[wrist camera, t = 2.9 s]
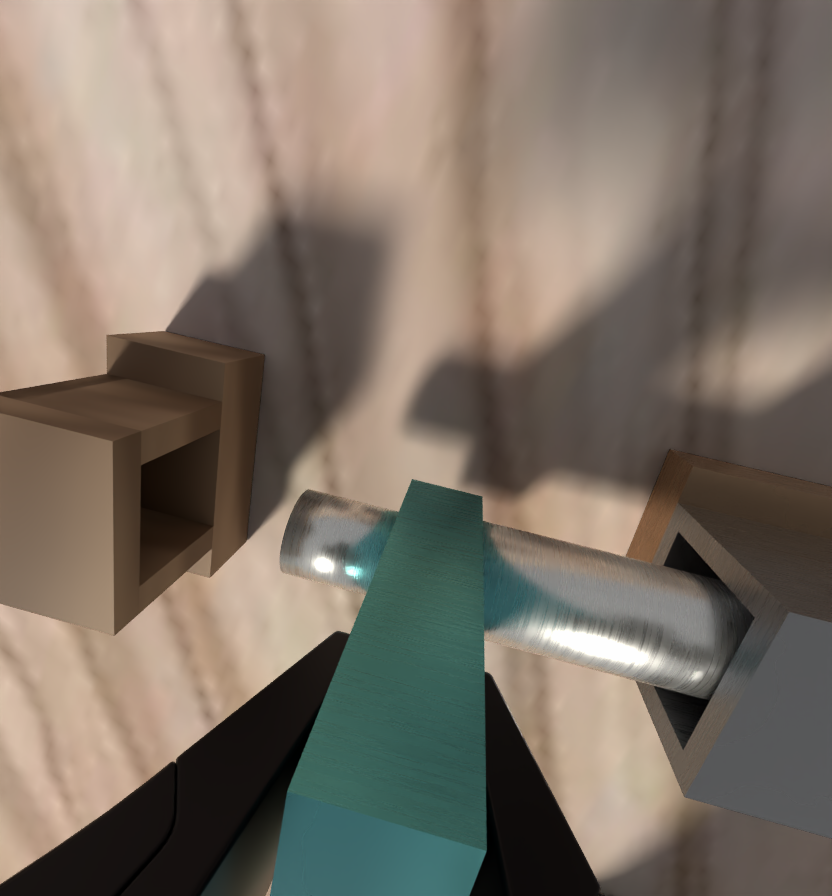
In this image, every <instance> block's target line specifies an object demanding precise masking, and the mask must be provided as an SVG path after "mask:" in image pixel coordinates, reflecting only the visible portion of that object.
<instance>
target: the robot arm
mask: <svg viewBox="0 0 832 896" xmlns="http://www.w3.org/2000/svg"><path fill="white" fill-rule="evenodd" d="M349 636H350V634H348V633H344V632H341V631H336V632H334V633H333V634H332V635H330V636H329V637H328V638H327V639H325V640H324V641H323V642H322V643H320V644H319V645H318V646H317V647H315V648H314V649H313V650H312V651H310V652H309V653H308V654H307V655H305V656H304V657H303V658H302V659H300V660H299V661H298V662H297V663H295V664H294V665H293V666H291V667H290V668H289V669H288V670H286V671H285V672H284V673H283V674H281V675H280V676H279V677H278V678H276V679H275V680H274V681H273V682H271V683H270V684H269V685H268V686H266V687H265V688H264V689H263V690H261V691H260V692H259V693H258V694H256V695H255V696H254V697H253V698H251V699H250V700H249V701H248V702H246V703H245V704H244V705H243V706H241V707H240V708H239V709H238V710H236V711H235V712H234V713H232V714H231V715H230V716H229V717H227V718H226V719H225V720H224V721H222V722H221V723H220V724H219V725H217V726H216V727H215V728H214V729H212V730H211V731H210V732H209V733H207V734H206V735H205V736H204V737H202V738H201V739H200V740H199V741H197V742H196V743H195V744H194V745H192V746H191V747H190V748H189V749H187V750H186V751H185V752H184V753H182V754H181V755H180V756H179V757H177V759H176V763H175V762H171V763H169V764H168V765H167V766H166V767H164V768H163V769H162V770H161V771H159V772H158V773H157V774H156V775H154V776H153V777H152V778H151V779H149V780H148V781H147V782H146V783H144V784H143V785H142V786H140V787H139V788H138V789H136V790H135V791H134V792H132V793H131V794H130V795H128V796H127V797H126V798H124V799H123V800H122V801H121V802H119V803H118V804H117V805H115V806H114V807H113V808H111V809H110V810H109V811H107V812H106V813H104V814H103V815H102V816H100V817H99V818H97V819H96V820H94V821H93V822H91V823H90V824H89V825H87V826H86V827H84V828H83V829H81V830H80V831H78V832H77V833H76V834H74V835H73V836H71V837H70V838H68V839H67V840H66V841H64V842H63V843H61V844H60V845H58V846H57V847H55V848H54V849H52V850H51V851H49V852H48V853H46V854H45V855H43V856H42V857H40V858H39V859H37V860H36V861H34V862H33V863H31V864H30V865H28V866H27V867H25V868H24V869H22V870H21V871H19V872H18V873H16V874H15V875H13V876H12V877H10V878H9V879H7V880H6V881H4V882H3V883H1V884H0V896H265V895H266V893H267V891H268V889H269V886H270V884H271V882H272V880H273V875H274V868H275V862H276V856H277V850H278V844H279V838H280V832H281V826H282V820H283V814H284V808H285V802H286V796H287V791H288V788H289V786H290V783H291V781H292V778H293V776H294V773H295V771H296V768H297V766H298V763H299V761H300V758H301V756H302V753H303V751H304V748H305V746H306V743H307V741H308V738H309V736H310V733H311V731H312V728H313V726H314V723H315V721H316V718H317V716H318V713H319V711H320V708H321V706H322V703H323V701H324V698H325V696H326V693H327V691H328V688H329V686H330V683H331V681H332V678H333V676H334V673H335V671H336V668H337V666H338V663H339V661H340V658H341V656H342V653H343V651H344V648H345V646H346V643H347V641H348V638H349ZM485 754H486V837H487V851H486V854H485V857H484V859H483V862H482V864H481V867H480V869H479V872H478V875H477V877H476V880H475V882H474V885H473V887H472V890H471V893H470V895H469V896H605V895H604V894H603V893H600V890H601V888H600V885H599V883H598V881H597V879H596V877H595V875H594V873H593V871H592V869H591V867H590V866H589V864H588V862H587V860H586V858H585V856H584V854H583V852H582V850H581V848H580V846H579V844H578V842H577V840H576V838H575V836H574V834H573V832H572V830H571V829H570V827H569V825H568V823H567V821H566V819H565V817H564V815H563V813H562V811H561V809H560V807H559V805H558V803H557V801H556V799H555V797H554V795H553V793H552V792H551V790H550V788H549V786H548V784H547V782H546V780H545V778H544V776H543V774H542V772H541V770H540V768H539V766H538V764H537V762H536V760H535V758H534V756H533V754H532V753H531V751H530V749H529V747H528V745H527V743H526V741H525V739H524V737H523V735H522V733H521V731H520V729H519V727H518V725H517V723H516V721H515V719H514V717H513V716H512V714H511V712H510V710H509V708H508V706H507V704H506V702H505V700H504V698H503V696H502V694H501V692H500V690H499V688H498V686H497V684H496V682H495V680H494V679H493V677H492V675H491V674H489V673H488V672H485ZM599 893H600V894H599Z"/></svg>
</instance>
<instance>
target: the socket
mask: <svg viewBox="0 0 832 896" xmlns="http://www.w3.org/2000/svg"><path fill="white" fill-rule="evenodd" d="M264 358H265V355H264V354H260V353H255V352H251V351H247V350H242V349H238V348H234V347H230V346H225V345H221V344H217V343H212V342H208V341H204V340H199V339H195V338H191V337H187V336H182V335H178V334H174V333H169V332H165V331H159V332H145V333H131V334H116V335H107V374H104V375H98V376H92V377H86V378H81V379H75V380H69V381H63V382H58V383H52V384H46V385H40V386H35V387H29V388H23V389H17V390H11V391H6V392H0V604H3V605H7V606H10V607H14V608H18V609H21V610H25V611H28V612H32V613H35V614H39V615H42V616H46V617H49V618H53V619H56V620H60V621H64V622H67V623H71V624H74V625H78V626H81V627H85V628H88V629H92V630H95V631H99V632H102V633H106V634H110V635H113V636H115V635H116V634H117V633H118V632H119V631H120V630H121V629H122V628H123V627H125V626H126V625H127V624H128V623H129V622H130V621H131V620H132V619H134V618H135V617H136V616H137V615H138V614H139V613H140V612H141V611H143V610H144V609H145V608H146V607H147V606H148V605H149V604H150V603H151V602H153V601H154V600H155V599H156V598H157V597H158V596H159V595H160V594H162V593H163V592H164V591H165V590H166V589H167V588H168V587H169V586H171V585H172V584H173V583H174V582H175V581H176V580H177V579H178V578H179V577H181V576H182V575H183V574H184V573H185V572H190V573H194V574H197V575H201V576H205V577H208V578H210V577H211V576H212V575H213V574H214V573H215V572H216V571H217V570H218V569H219V568H220V567H221V566H222V565H223V564H224V563H225V562H226V561H227V560H228V559H229V558H230V557H231V556H232V555H233V554H234V553H235V552H236V551H237V550H238V549H239V548H240V547H241V546H242V545H243V544H244V543H245V542H246V541H247V531H248V520H249V510H250V500H251V490H252V480H253V470H254V460H255V449H256V439H257V429H258V419H259V409H260V399H261V389H262V379H263V368H264Z"/></svg>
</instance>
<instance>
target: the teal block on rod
mask: <svg viewBox="0 0 832 896" xmlns="http://www.w3.org/2000/svg"><path fill="white" fill-rule="evenodd" d="M280 569H281V571H282V573H285V574H288V575H292V576H296V577H300V578H303V579H307V580H311V581H315V582H319V583H322V584H326V585H330V586H334V587H337V588H341V589H345V590H349V591H352V592H356V593H360V594H364V595H366V596H365V598H364V601H363V603H362V606H361V608H360V611H359V613H358V616H357V618H356V621H355V623H354V626H353V628H352V631H351V633H350V636H349V638H348V641H347V643H346V646H345V648H344V651H343V653H342V656H341V658H340V661H339V663H338V666H337V668H336V671H335V673H334V676H333V678H332V681H331V683H330V686H329V688H328V691H327V693H326V696H325V698H324V701H323V703H322V706H321V708H320V711H319V713H318V716H317V718H316V721H315V723H314V726H313V728H312V731H311V733H310V736H309V738H308V741H307V743H306V746H305V748H304V751H303V753H302V756H301V758H300V761H299V763H298V766H297V768H296V771H295V773H294V776H293V778H292V781H291V783H290V786H289V788H288V791H287V796H286V802H285V808H284V814H283V820H282V826H281V832H280V838H279V844H278V850H277V856H276V862H275V868H274V875H273V881H272V887H271V893H270V896H469V895H470V893H471V890H472V887H473V885H474V882H475V880H476V877H477V875H478V872H479V869H480V867H481V864H482V862H483V859H484V857H485V854H486V851H487V837H486V754H485V671H484V640H486V641H489V642H493V643H497V644H501V645H504V646H508V647H512V648H515V649H519V650H523V651H527V652H530V653H534V654H538V655H542V656H545V657H549V658H553V659H557V660H560V661H564V662H568V663H571V664H575V665H579V666H583V667H586V668H590V669H594V670H598V671H601V672H605V673H609V674H613V675H616V676H620V677H624V678H627V679H631V680H635V681H639V682H642V683H646V684H650V685H654V686H657V687H661V688H665V689H669V690H672V691H676V692H680V693H683V694H687V695H691V696H695V697H698V698H702V699H706V700H711V698H712V696H713V694H714V692H715V691H716V689H717V687H718V685H719V683H720V681H721V680H722V678H723V676H724V674H725V672H726V670H727V668H728V667H729V665H730V663H731V661H732V659H733V657H734V656H735V654H736V652H737V650H738V648H739V646H740V644H741V643H742V641H743V639H744V637H745V635H746V633H747V632H748V630H749V628H750V626H751V624H752V622H753V620H754V619H755V617H754V616H753V615H752V614H751V612H750V611H749V610H748V609H747V608H746V607H745V606H744V605H743V603H742V602H741V601H740V600H739V599H738V598H737V597H736V596H735V594H734V593H733V592H732V591H731V590H730V589H729V588H728V587H727V586H726V584H725V583H724V582H723V581H721V580H717V579H713V578H709V577H705V576H701V575H697V574H693V573H689V572H685V571H681V570H677V569H673V568H669V567H665V566H661V565H657V564H653V563H649V562H645V561H641V560H637V559H633V558H629V557H625V556H622V555H618V554H614V553H610V552H606V551H602V550H598V549H594V548H590V547H586V546H582V545H578V544H574V543H570V542H566V541H562V540H558V539H554V538H550V537H546V536H542V535H538V534H534V533H530V532H526V531H522V530H518V529H514V528H510V527H506V526H502V525H498V524H494V523H490V522H486V521H483V505H482V496H478V495H474V494H470V493H466V492H462V491H458V490H454V489H450V488H446V487H442V486H437V485H433V484H429V483H425V482H421V481H417V480H413V479H412V481H411V483H410V486H409V488H408V491H407V493H406V496H405V498H404V501H403V503H402V506H401V508H400V511H399V512H397V511H394V510H390V509H386V508H382V507H378V506H374V505H370V504H366V503H362V502H358V501H354V500H350V499H346V498H342V497H338V496H334V495H330V494H326V493H322V492H318V491H314V490H310V489H308V490H306V491H305V492H304V493H303V494H302V495H301V496H300V498H299V499H298V501H297V502H296V504H295V506H294V508H293V511H292V513H291V515H290V518H289V520H288V523H287V526H286V529H285V533H284V536H283V540H282V545H281V551H280Z"/></svg>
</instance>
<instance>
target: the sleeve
mask: <svg viewBox="0 0 832 896" xmlns="http://www.w3.org/2000/svg"><path fill="white" fill-rule="evenodd" d="M626 557H629V558H633V559H637V560H641V561H645V562H649V563H653V564H657V565H661V566H665V567H669V568H673V569H677V570H681V571H685V572H689V573H693V574H697V575H701V576H705V577H709V578H713V579H717V580H721V581H723V582H724V583H725V584H726V586H727V587H728V588H729V589H730V590H731V591H732V592H733V593H734V594H735V596H736V597H737V598H738V599H739V600H740V601H741V602H742V603H743V605H744V606H745V607H746V608H747V609H748V610H749V611H750V612H751V614H752V615H753V616H754V617H755V619H754V620H753V622H752V624H751V626H750V628H749V630H748V632H747V633H746V635H745V637H744V639H743V641H742V643H741V644H740V646H739V648H738V650H737V652H736V654H735V656H734V657H733V659H732V661H731V663H730V665H729V667H728V668H727V670H726V672H725V674H724V676H723V678H722V680H721V681H720V683H719V685H718V687H717V689H716V691H715V692H714V694H713V696H712V698H711V700H706V699H702V698H698V697H695V696H691V695H687V694H683V693H680V692H676V691H672V690H669V689H665V688H661V687H657V686H654V685H650V684H646V683H642V682H639V681H636V683H637V685H638V688H639V690H640V692H641V695H642V697H643V700H644V702H645V704H646V707H647V709H648V712H649V714H650V716H651V719H652V721H653V724H654V726H655V728H656V731H657V733H658V735H659V738H660V740H661V743H662V745H663V747H664V750H665V752H666V755H667V757H668V759H669V762H670V764H671V767H672V769H673V771H674V774H675V776H676V779H677V781H678V783H679V786H680V788H681V790H682V793H683V795H684V797H686V798H690V799H693V800H697V801H700V802H704V803H707V804H711V805H714V806H718V807H722V808H725V809H729V810H732V811H736V812H739V813H743V814H746V815H750V816H753V817H757V818H760V819H764V820H768V821H771V822H775V823H778V824H782V825H785V826H789V827H792V828H796V829H799V830H803V831H806V832H810V833H813V834H817V835H821V836H824V837H828V838H831V839H832V487H830V486H826V485H822V484H817V483H813V482H809V481H804V480H800V479H796V478H791V477H787V476H783V475H779V474H774V473H770V472H766V471H761V470H757V469H753V468H749V467H744V466H740V465H736V464H731V463H727V462H723V461H719V460H714V459H710V458H706V457H701V456H697V455H693V454H689V453H684V452H680V451H676V450H671V449H670V450H669V452H668V455H667V457H666V459H665V462H664V464H663V467H662V469H661V472H660V474H659V477H658V479H657V481H656V484H655V486H654V489H653V491H652V494H651V496H650V499H649V501H648V503H647V506H646V508H645V511H644V513H643V516H642V518H641V521H640V523H639V525H638V528H637V530H636V533H635V535H634V538H633V540H632V543H631V545H630V547H629V550H628V552H627V555H626Z"/></svg>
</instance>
